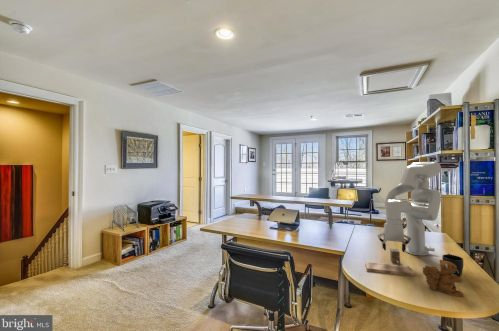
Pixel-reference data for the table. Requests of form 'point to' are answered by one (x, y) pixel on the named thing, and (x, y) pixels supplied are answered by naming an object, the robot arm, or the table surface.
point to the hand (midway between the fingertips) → (393, 250)
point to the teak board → (389, 268)
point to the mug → (455, 262)
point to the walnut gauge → (395, 256)
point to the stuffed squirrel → (443, 278)
